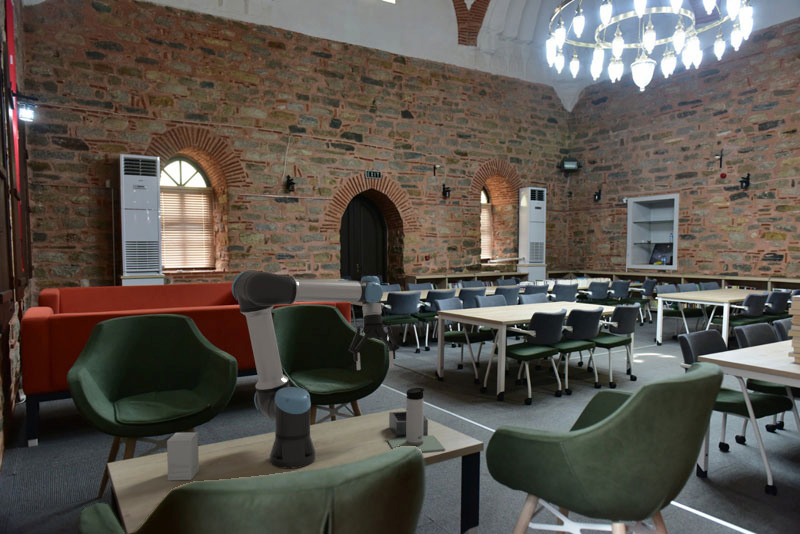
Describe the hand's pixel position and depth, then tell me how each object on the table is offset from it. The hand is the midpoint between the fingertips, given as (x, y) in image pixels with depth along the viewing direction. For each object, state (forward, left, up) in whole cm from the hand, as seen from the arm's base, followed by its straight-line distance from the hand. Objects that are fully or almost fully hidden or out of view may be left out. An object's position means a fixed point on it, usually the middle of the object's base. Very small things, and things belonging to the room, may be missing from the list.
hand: (375, 369), depth 205 cm
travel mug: (+12, -17, -24) cm, 32 cm away
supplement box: (-66, -26, -25) cm, 76 cm away
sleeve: (+13, -3, -25) cm, 28 cm away
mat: (+12, -18, -25) cm, 33 cm away
